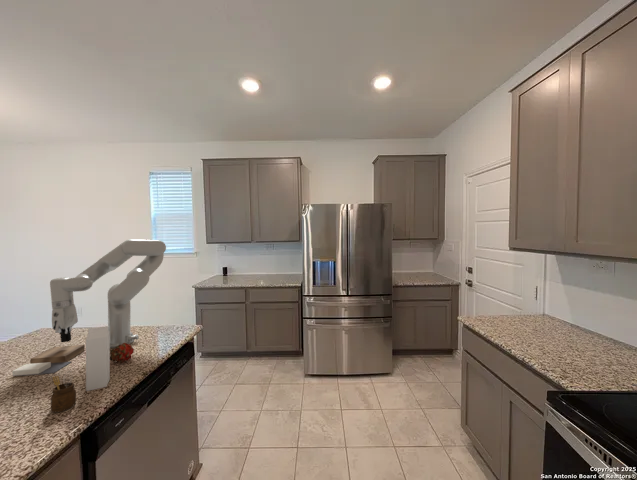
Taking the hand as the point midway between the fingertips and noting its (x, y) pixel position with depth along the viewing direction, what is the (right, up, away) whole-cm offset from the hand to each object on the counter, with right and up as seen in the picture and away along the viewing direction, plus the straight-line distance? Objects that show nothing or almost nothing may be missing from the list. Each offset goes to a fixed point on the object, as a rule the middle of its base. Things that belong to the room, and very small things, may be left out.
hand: (66, 341), depth 126 cm
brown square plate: (0, -6, -3) cm, 7 cm away
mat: (+6, -6, -14) cm, 16 cm away
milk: (+38, -7, -27) cm, 47 cm away
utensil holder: (+38, -7, -40) cm, 55 cm away
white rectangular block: (+2, -4, -17) cm, 17 cm away
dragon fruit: (+32, -7, -7) cm, 33 cm away
